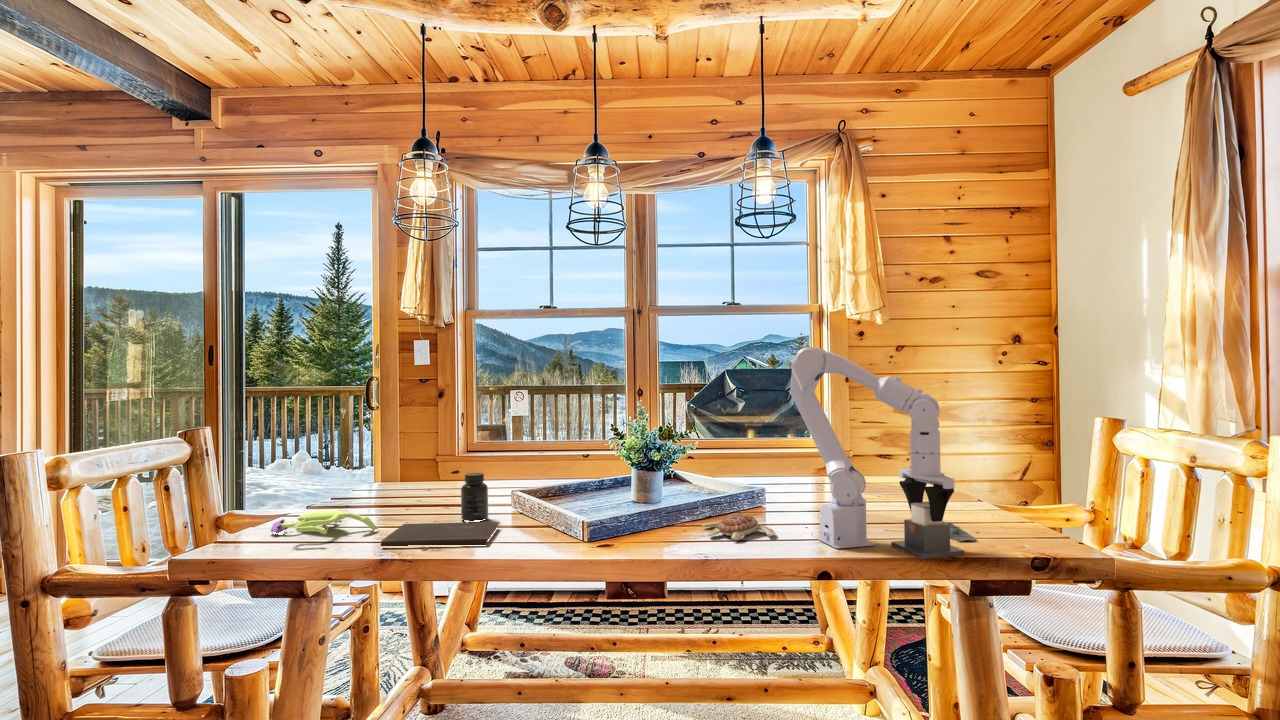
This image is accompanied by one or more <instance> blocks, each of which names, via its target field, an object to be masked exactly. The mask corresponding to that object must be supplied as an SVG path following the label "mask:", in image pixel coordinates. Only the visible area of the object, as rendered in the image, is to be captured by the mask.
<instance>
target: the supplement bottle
mask: <svg viewBox="0 0 1280 720" xmlns="http://www.w3.org/2000/svg"><path fill="white" fill-rule="evenodd" d="M484 481H485V477H484V473H483V472H471V473H469V472H468V473H465V474H464V482H465V483H464V484H463V485H462V486H461V489H460V503H461V504H460V512H461V513H460V515H461V516H460V517H461V520H462V519H463V520H469V521H474V520H483V519H487V518H489V488H488V485H487V484H486V483H484ZM487 520H488V519H487Z"/></svg>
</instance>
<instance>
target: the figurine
mask: <svg viewBox="0 0 1280 720" xmlns="http://www.w3.org/2000/svg"><path fill="white" fill-rule="evenodd" d="M296 518H297V522H291V523H285V519H284V518H283V519H280V520H278V521H276V522H274V523H273V524H272V526H271V529H270V532H271V533H272V532H276V533H279V532H281V531H283V530H285V531H286V530H288V528H289V529H291V528H294V529H295V530H296V531H297V532H299V533H300V532H301V533H302V532H315V533H316V532H317V533H320V534H322V535H326V534H327V533H328V529H325V528H329V526H328V525H330V524H338V523H340V520H344V519H345V518H350V519H353V520H356V521H359V522H361V523H364V525H366V526H368V527H369V528H370V529H371V530H372V531H373V530H375V529H378V530H379V528H378V526H377V525H375V523H374V522H373V521H372V520H371V518H369V517H368V516H365V515H364V516H361V515H359V514H356V513H353V512H346V511H344V510H330V509H329V510H328V509H326V510H316V511H311V512H305V513H302V514H300V515H299V516H298V517H296ZM333 522H335V523H333ZM337 522H338V523H337ZM317 525H318V526H317ZM321 526H322V527H321Z"/></svg>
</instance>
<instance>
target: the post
mask: <svg viewBox="0 0 1280 720" xmlns="http://www.w3.org/2000/svg"><path fill="white" fill-rule="evenodd" d="M910 515H911V517H910V519H911V521H912V522H915V523H918V524H921V525H924V526H926V525H938V524H942V522H943V520H942V521H938V522H933V521H932V520H931V515H930V505H929V501H923V502H920V503H911V511H910Z"/></svg>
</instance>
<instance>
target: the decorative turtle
mask: <svg viewBox="0 0 1280 720" xmlns="http://www.w3.org/2000/svg"><path fill="white" fill-rule="evenodd" d="M701 527H702V528H710V527H716V528H713V529H711V530H710V531H708V532H707V536H709V537H713V536H716V535H718V534H720V533H721V534H723V535H726V536H729V537H730V538H731V540H734V541H735V540H736V541H738V540H741V539H744V538H745V536H748V535H750V534H752V533H754V532H755V531H756V530H760V531H763V533H765V534H766V535H767V537H774V536H775V535H776V532H775V531H774V530H773V529H772V528H770V527H768V526H765V525H763V524H760V523H759V522H758V520H757V519H756V518H755V517H754V516H753V515H749V514H745V513H742V512H734V513H731V514H728V515H726V516H725V517H724V518H722V519H721V520H719V521H712V522H708V523H704V524H701Z"/></svg>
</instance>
